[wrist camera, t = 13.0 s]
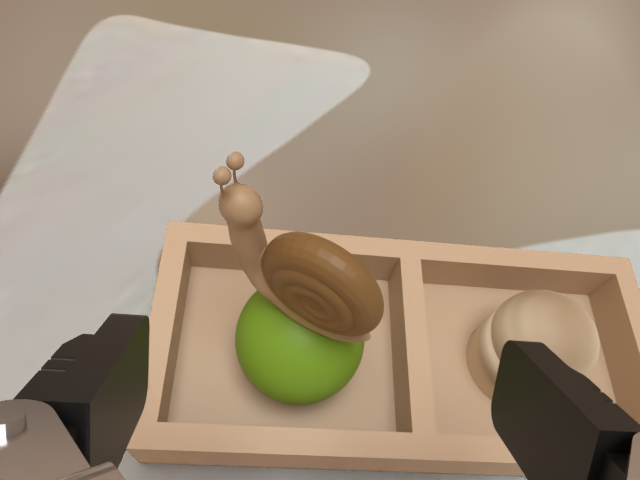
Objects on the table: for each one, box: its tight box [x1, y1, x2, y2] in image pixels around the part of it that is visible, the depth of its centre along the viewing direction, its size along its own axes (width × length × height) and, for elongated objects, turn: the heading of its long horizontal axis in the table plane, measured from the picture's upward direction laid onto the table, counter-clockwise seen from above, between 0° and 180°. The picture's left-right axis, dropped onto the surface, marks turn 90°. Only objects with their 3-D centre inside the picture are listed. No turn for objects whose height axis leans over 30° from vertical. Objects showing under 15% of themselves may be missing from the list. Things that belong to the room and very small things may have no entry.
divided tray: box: [126, 221, 640, 476], centre depth 25 cm, size 23×10×4 cm, turn 89°
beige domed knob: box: [466, 290, 600, 400], centre depth 24 cm, size 5×5×5 cm
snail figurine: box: [213, 152, 384, 405], centre depth 20 cm, size 5×6×12 cm
